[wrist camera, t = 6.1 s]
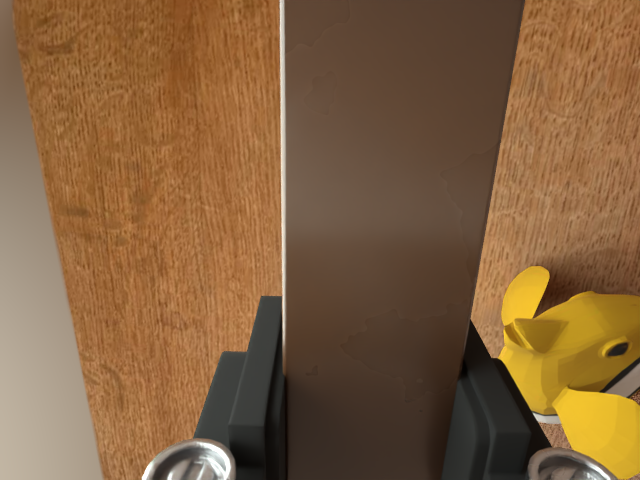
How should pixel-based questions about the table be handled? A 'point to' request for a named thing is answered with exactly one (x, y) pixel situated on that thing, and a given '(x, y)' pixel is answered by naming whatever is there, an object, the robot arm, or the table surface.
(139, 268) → the table surface
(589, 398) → the fish
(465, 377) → the robot arm
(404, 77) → the stick
